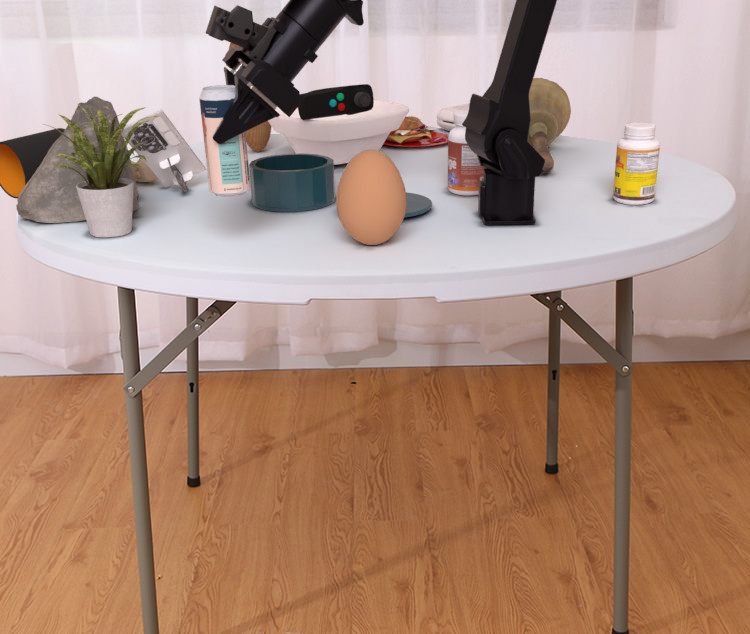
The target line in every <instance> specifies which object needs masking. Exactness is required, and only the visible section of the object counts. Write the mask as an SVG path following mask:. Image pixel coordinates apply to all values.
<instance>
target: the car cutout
mask: <svg viewBox="0 0 750 634" xmlns="http://www.w3.org/2000/svg"><path fill="white" fill-rule="evenodd" d="M149 116H158V117H151V118H146V119H143V118H145V117H149ZM141 119H143V120H141ZM139 120H141V121H140V122H142V121H147V122H144V123H142V124H141V125H140V126H139V127H138V128H137V129H136V130H135V131H134V133H133V135H132V136H131V138H130V140H129V142H128V144H129V146H130V147H131V148H132V147H134V146H135V145H137V144H140V143H144V144H141V145H139V146H138V147H137V148H136V150H135V151H134V152H135V153H136V154H137V156H138V155H142V156H144V157H145V158H146V160H144V159H142V158H141V159H142V160H143V161H144V162H145V163H146V164H147V166H148V167H149V168H150V169H151V170H152V172H153V173H154V174H155V175H156V176H157V177H158V180H159V181H160V182H161V184H162V185H163V186H164V187H165V188H169V187H170V186H173V185H174V186H179V187H180V188H181V189H182V191H184V193H187V192H189V187H188V185H187V182H188V181H190V180H192V179H193V177H194V176H195V175H197V174H199V173H202V172H204V171H207V167H206V166H205V165H204V164H203V162H202V161H201V160H200V158H199V157H198V155H197V154H196V152H194V150H193V149H192V147H191V146H190V145H189V144H188V142H187V141H186V140H185V138H184V137H183V136H182V134H181V133H180V131H179V130H178V128H177V127H175V125H174V124H173V123H172V121H171V119H169V117H168V116H167V114H166V113H165V112H164V110H163V109H162V108H161V109H159V110H157V111H154V112H152V113H150V114H148V115H145V116H144V117H141V118H139V119H137V120H134V121H133V122H130V123H127V124H126V126H125V127H124V130H123V132H122V134H121V135H122V136H123V137H124V139H125V137H126V136H128V135H127V134H129V133H128V132H129V131H131V128H132V127H134V126H135V125H136V124H135V123H137V122H138V121H139ZM138 123H139V122H138ZM134 124H135V125H134ZM125 140H126V139H125ZM145 142H146V143H145ZM146 161H147V162H146Z"/></svg>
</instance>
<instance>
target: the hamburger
mask: <svg viewBox="0 0 750 634" xmlns="http://www.w3.org/2000/svg"><path fill="white" fill-rule="evenodd" d="M427 127H429V126H428V125H426V124H425V123H423V121H421V119H420V118H419V117H417V116H413V115H409V116H406V117H405V119H404V120H403V122H402V124H401V125H400V127H399V129H397V130H394V131H391V132H390V134H389V135H388V137H387V138H386V140H385V142H384V143H383V145H385V146H392V147H405V148H407V147H408V148H409V147H412V148H413V147H414V148H415V147H431V146H438V145H443V144H448V135H449V133H448V134H447V133H443V132H438V131H437V132H436V131H431V130H428V129H426V128H427Z"/></svg>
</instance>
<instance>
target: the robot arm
mask: <svg viewBox="0 0 750 634" xmlns="http://www.w3.org/2000/svg"><path fill="white" fill-rule="evenodd" d="M557 2H558V0H515V4H514V7H513V9H512V10H513V11H512V15H511V17H510V20H509V24H508V28H507V31H506V33H505V35H506V36H505V38H504V41H503V45H502V48H501V52H500V55H499V59H498V62H497V65H496V70H495V72H494V76H493V79H492V81H491V84H490V85H489V87H488V88H487V90H486V91H485V92H484V93H483V94H482V96H481V95H479V94H477V93H472V94H471V97H470V99H469V103H470V105H469V111H468V115H467V117H466V119H465V120H464V122H463V123H462V125H463V126H465V127H466V131H465V140H466V142H467V144H468V146H469V148H470V149H471V150H472V151H473V152H474V153H475V154H477V157H478V160H479V163H480V165H481V166H482V167H486V168H487V169H484V180H483V181H480V182H479V195H478V204H477V205H478V206H477V209H478V210H477V212H478V216H480V218H482V222H483V224H484V225H486V226H487V225H488V226H490V225H494V226H497V225H498V226H499V225H535V224H536V222H537V220H536V218H535V217H536V216H535V215H534V213H535V212H534V211H535V191H536V178H537V177H540V176H541V172H542V169H543V166H544V164H545V159H544V158H543V157H542V156H541V155H540V154H539V153H538V152H537V151H536V150H535V149H534V148H533V147H532V146H531V145H530V144H529V143H528V136H529V129H530V122H531V115H530V102H529V92H530V88H531V85H532V81H533V78H535V74H536V71H537V68H538V65H539V61H540V58H541V56H542V51H543V48H544V45H545V42H546V38H547V35H548V32H549V29H550V25H551V22H552V18H553V15H554V12H555V8H556V5H557ZM363 5H364V1H363V0H288V1H287V3H286V4H285V6H284V7H283V8H282V9H281V10H280V12H279V13H278V14H277V15H276V16H275V17H273V16H271V17H267V18H266V19H265V20H264V22H262V24H260V23H257V22H255V21H254V16H253V10H251V9H248V8H246V7H244V6H241V5H238V4H237V5H235V7H233V9H231V10H230V11H229V10H227V9H224V8H222V7H220V6H217V5H213V8H212V12H211V15H210V18H209V22H208V24H207V27H206V30H205V34H206V35H208V36H209V37H212V38H214V39H216V40H218V41H220V42H223V41H225V42H229V43H230V42H231V43H233V44H235V45H238V46H240V48H231V49H230V51H229V52H228V53H227V52H226V53H227V54H226V53H225V55H226V56H224V57H223V58H222V60H221V61H222V62H223V63H225V65H226V64H227V65H228V66H229V67H230V68H231V69H230V68H229V67H228V66H223V73H224V79H225V85H234V86H235V91H236V96H235V98H234V100H233V102H232V103H231V105H230V107H229V109H228V110H227V112H226V114H225V116H224V117H223V119H222V121H221V122H220V124H219V126H218V128H217V130H216V131H215V133H214V135H213V140H214V141H215V142H217V143H218V144H222V143H224V142H226V141H228V140H230V139H232V138H234V137H236V136H238V135H240V134H242V133H244V132H246V131H247V130H250V129H252V128H254V127H256V126H258V125H260V124H262V123H264V122H266V121H268V120H271V119H273V118H275V117H276V118H277V117H279V116H280V114H279V113H278V112H277V111H276V110H275V109H276V108H277V107H278V108H279V109H280V110H281V111H282V112H283V113H285V114H286V115H287V116H288V117H290V116H291V115H292V114H293V112H294V111H295V110H296V109H297V107H298V106H299V105H300V94H301V93H300V91H299V90H298V89H297V88H296V87H295V84H294V83H293V80H294V79H295V78H296V77H297V76H298V75H299V74H300V72H301V71H302V70H303V68H304V67H305V66H306V65H307V63H308V62H309V63H310V64H313V63H314V62H315V61H316V60H317V59H318V57H319V56H318V54H317V52H318V50H319V49H320V48H321V47H322V45H323V44H324V43H325V42H326V40H327V39H328V38H329V37H330V36H331V35H332V33H333V32H334V31H335V29H336V28H337V27H338V26H339V25H340V23H341V22H342V21H343V19H344V18H345V19H346V20H347V21H348V22H349V23H350V24H351V25H355V26H360V27H361V26H363V25H364V23H365V22H364V15H363V14H364V13H363ZM242 47H243V48H242ZM229 69H230V70H229Z"/></svg>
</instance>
